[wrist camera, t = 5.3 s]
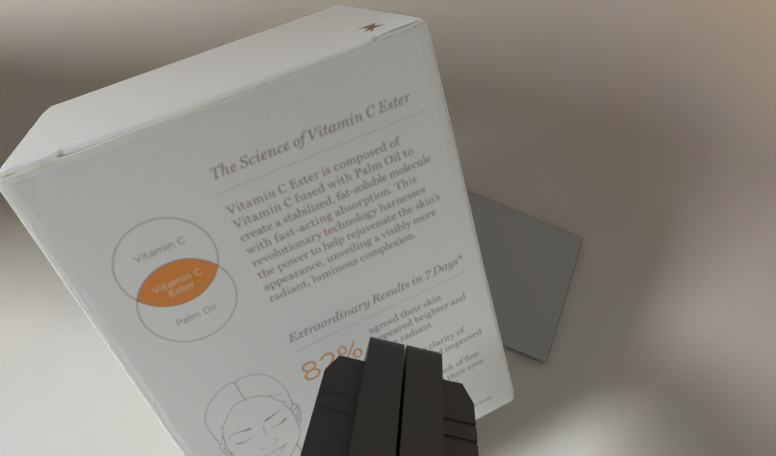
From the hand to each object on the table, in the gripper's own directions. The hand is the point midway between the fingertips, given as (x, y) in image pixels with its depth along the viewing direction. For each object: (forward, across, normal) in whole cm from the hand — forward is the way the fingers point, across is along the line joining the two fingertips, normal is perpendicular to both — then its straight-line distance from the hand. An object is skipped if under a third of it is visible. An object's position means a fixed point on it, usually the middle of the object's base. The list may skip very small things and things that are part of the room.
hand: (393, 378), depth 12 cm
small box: (+4, 0, +5) cm, 6 cm away
